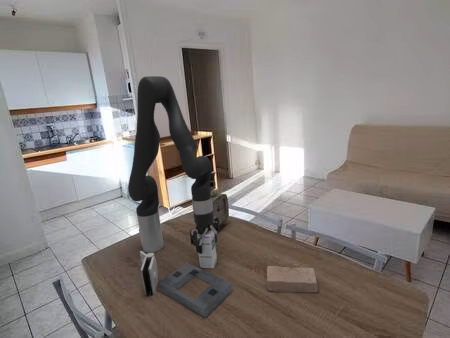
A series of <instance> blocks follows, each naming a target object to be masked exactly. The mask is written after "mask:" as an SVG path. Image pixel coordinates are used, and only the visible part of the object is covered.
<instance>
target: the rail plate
mask: <svg viewBox="0 0 450 338" xmlns="http://www.w3.org/2000/svg"><path fill="white" fill-rule="evenodd" d="M194 277H196V278H198V279H200V280H202V281H205V282H206V283H208V284H210V285H209V286H207V288H206V289H204V290H203V291H202V292H200V294H198V295H197V296H196V297H195V298H194V297H191V296H190V295H188V294H186V293H185V292H182V291H180V290H179V289H180V288H182V287H183V286H184V285H185V284H186V283H188V282H189V281H191V280H192V279H193V278H194ZM157 287H158V291H160V292H161V293H163V294H164V295H166V296H168V297H169V298H171V299H173V300H174V301H176V302H178V303H179V304H181V305H183V306H184V307H186V308H188V309H190V310H191V311H193V312H195V313H196V314H198V315H199V316H201V317H203V318H207V316H208V315H210V313H211V312H213V310H214V309H216V308H217V307H218V305H219V304H221V302H222V301H224V299H226V297H228V296H229V295H230V294H231V293H232V291H233V283H232V282H230V281H228V280H226V279H224V278H221V277H219V276H218V275H215V274H213V273H210V272H209V271H206V270H204V269H203V268H202V269H201V267H197V266H195V265H193V264H191V263H189V262H184V263H183V264H182V265H181V266H179V267H178V268H177V269H175V270H174V271H172V272H170V273H169V274H168V275H166V276H165V277H164V278H162V279H160V280H158V283H157Z"/></svg>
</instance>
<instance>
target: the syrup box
mask: <svg viewBox="0 0 450 338" xmlns="http://www.w3.org/2000/svg"><path fill="white" fill-rule="evenodd" d="M198 236H200V237H201V236H202V235H201V234H198ZM199 240H200V239H198V242H199ZM216 244H217V243H215V235H214V232H213V231H212V230H210V231H209V232H207V233H206V234H205V237H204V240H202V243H201V245H202V252H203V253H202V254H200V253H198V252H197V254H198V260H199V268H200V269H201V268H202V269H203V268H204V269H214V268H215V267H216V264H217V262H218V256H217V245H216Z"/></svg>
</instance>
